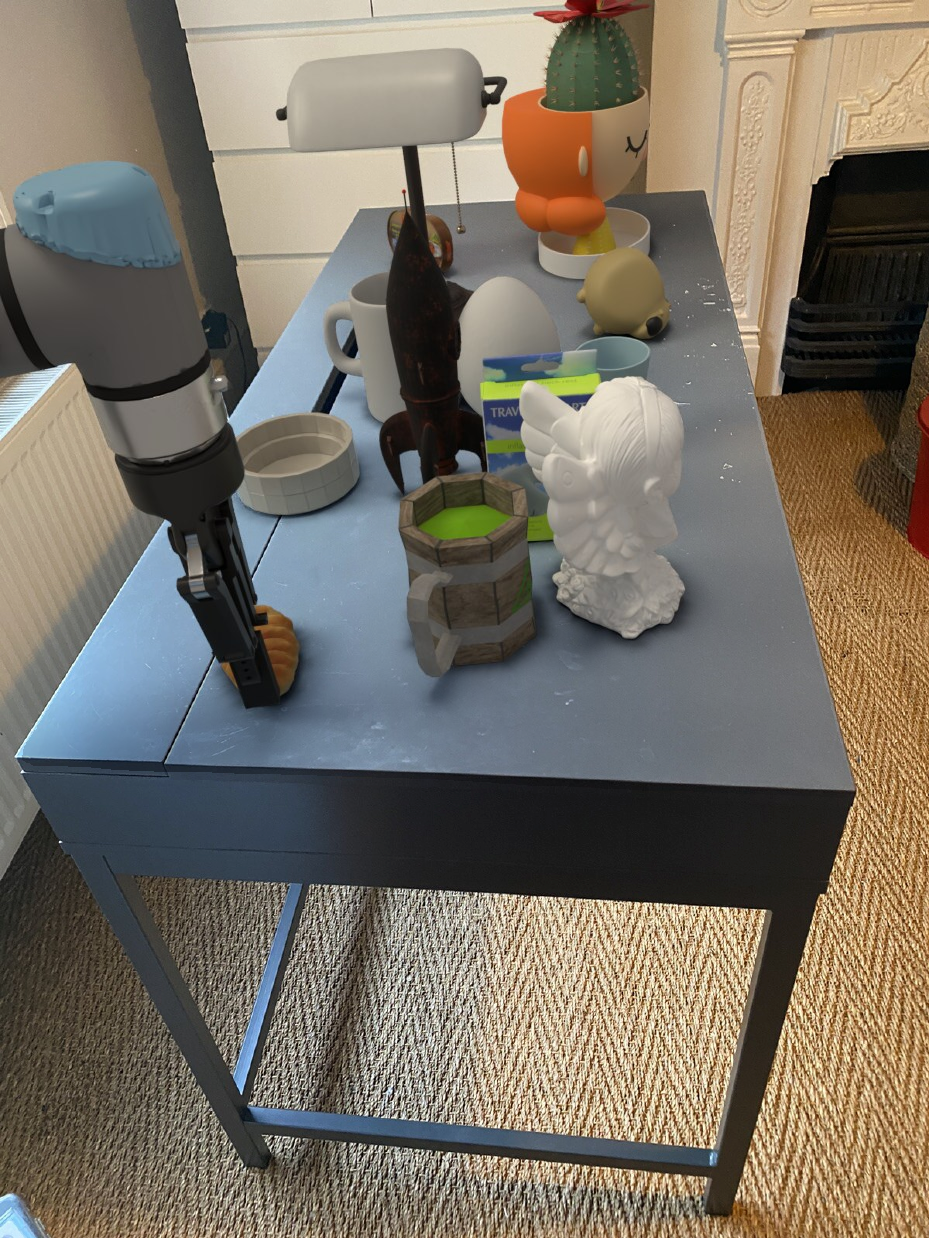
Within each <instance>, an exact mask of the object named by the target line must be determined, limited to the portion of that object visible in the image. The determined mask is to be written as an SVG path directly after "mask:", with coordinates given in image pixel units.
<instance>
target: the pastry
mask: <svg viewBox="0 0 929 1238" xmlns="http://www.w3.org/2000/svg"><path fill="white" fill-rule="evenodd" d="M254 607H255V610H256V613H263V612H267V616H268V625H263V626H257V627H254V629H255V630H261V633H262V636H263V639H264V642H265V646H266V649H267V652H268V655H269V658H270V661H271V664H272V667H273V670H274V673H275V676H276V679H277V682H278V685H279V688H280V696H283V695H284V694H285V693H287V692H288V691H289V690H290V688H291V686H292V684H293V682H294V681H295V675H296V670H297V668H298V665H299V662H300V659H299V654H300V650H301V645H300V644H301V643H300V642H299V640H298V639H297V636H296V633H295V630H294V623H293V620H292V619H291V618H290V617H288V616H286V615H285V614H284V613H282V612H281V611H279V610H276V609H274V607H272V606H271V605H268V604H257V605H254ZM221 668H222V670H223V672H224V673H225V675H227V677H228V678H229V679H230V681H231V682H232V683H233V685H234V686H235V687H236V689H237V690H238V691H239V689H238V687H237V684H236V681H235V678H234V676H233V673H232V670H231V667H230V665H229V662H227V663H221Z"/></svg>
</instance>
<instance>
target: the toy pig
mask: <svg viewBox="0 0 929 1238" xmlns="http://www.w3.org/2000/svg"><path fill="white" fill-rule="evenodd" d="M583 280H584V281H583V286H582V288H581V289H580V290H579V291H578V292H577V294H576V301H577V302H578V303H580V304H584V306H585V308H586V311H587V313H588V315H589V316H590V318H591V319H592V321H593V323H594V325H593V329H592V330H593V333H594V334H595V335H597V336H601V335H604V334H605V333H608V334H613V335H625V334H627V335H629V336H632V337H634V338H635V339H641V340H648V339H651V338H654V337H655V336H657V335H659V334H660V332H662V330H664V329H665V327H666V326H667V324H668V322H669V320H670V316H671V309H670V308H671V307H672V303H671V302H669V300H668V299H667V297H666V294H665V293H666V292H665V285H664V281H663V278H662V276H661V273H660V271H659V269H658V268H657V266H656V265H655V262H654V261H653V260H652V259H651V258H650V257H649V255H648V256H647V255H646V254H645V253H644V252H642V251H641V250H639V249H636V248H632V247H621V248H617V249H614V250H611V251H609V252H607V253H605V254H604V255H602V256H601V257H599V258H598V259H597V260H596V261H595V262H594V263H593V264H592V266H591V267H590V268H589V270H588V272H587V274H586V277H585V279H583Z"/></svg>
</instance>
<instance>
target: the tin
mask: <svg viewBox="0 0 929 1238" xmlns="http://www.w3.org/2000/svg"><path fill="white" fill-rule="evenodd" d="M407 211H408V213H409V214H410V216H411V211H410V207H407ZM405 212H406V209H405V208H402V209H395V210H393V211H391V213H390V214H389V216H388V218H387V222H386V223H387V224H386V234H387V240H388V245H389V247H390V251H391V253H392V255H393V254H394V250H395V247H396V243H397V240H398V236H399V233H400V229H401V226H402V222H403V219H404V215H405ZM425 213H426V222H427V230H428V238H429V246H430V249H431V251H432V253H433V255H434V257H435V259H436V261H437V263H438V265H439V267H440V269H441V271H442V273H444V272H445V273H446V272H447V271H448V270H449V269H450V268H451V267H452V266H453V262H454V244H453V236H452V233H451V231H450V229H449V226H448V224H446V222H445V221H444V220H443V219H442V218H440V217H439V216H437V215H433V214H430V213H427V212H425Z"/></svg>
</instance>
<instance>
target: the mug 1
mask: <svg viewBox="0 0 929 1238" xmlns="http://www.w3.org/2000/svg"><path fill="white" fill-rule="evenodd" d="M389 272H390V269H388V270H385V271H380V272H376V273H374V274H371V275H368V276H366V277H364V278H362V279H359V281H357V282H355V283H354V284H353V285H352V286H351V288H350V290H349V292H348V299H349V300H341V301H337V302H334V303H333V304H330V305H329V306H328V307H327V309H326V311H325V313H324V316H323V337H324V338H323V339H324V342H325V346H326V350H327V353H328V356H329V358H330V360H331V361H332V364H333V365H334V366H335V368H337V370H338V371H340V372H341V373H343V374H345V375H350V376H354V377H361V378H363V384H364V389H365V395H366V402H367V407H368V411H369V413H370V415H371V416H372V417H373V418H374V419H376V420H377V421H379V422H380V423H382V424H383V423H384V422H385V421H386V420H387V419H388V418H389V417H391V416H392V415H394V414H396V413H399V412H402V411H405V410H407V409H406V405H405V401H404V400H403V399H402V398H401V395H399V394H400V388H401V385H400V380H399V376H398V372H397V367H396V363H395V358H394V353H393V348H392V344H391V339H390V334H389V327H388V320H387V313H386V300H385V299H386V293H387V285H388V278H389ZM445 281H447V280H446V278H445ZM446 283H447V282H446ZM340 320H345V321H350V322H352V325H353V329H354V334H355V339H356V344H357V349H358V355H359V357H358V358H352V357H350V356H348V355H346V353H344V351H343V350H342V348H341V346H340V342H339V340H338V336H337V323H338V321H340ZM458 399H459V403H460V402H461V391H460V392H459V394H458Z"/></svg>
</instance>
